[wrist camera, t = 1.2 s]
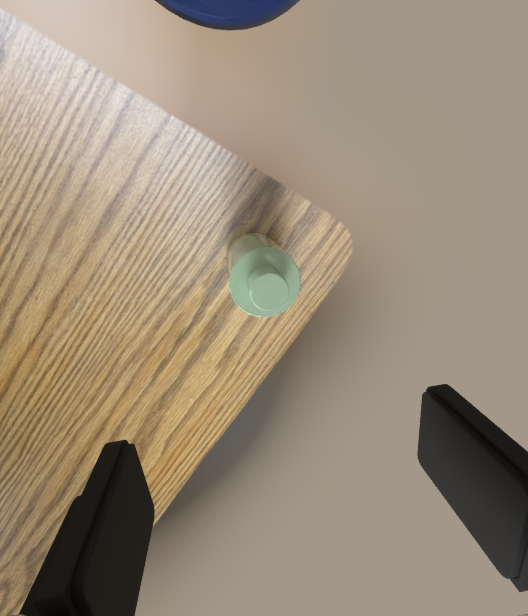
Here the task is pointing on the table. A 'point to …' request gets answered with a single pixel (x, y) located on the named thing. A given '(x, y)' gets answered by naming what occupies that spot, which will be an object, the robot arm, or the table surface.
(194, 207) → the table surface
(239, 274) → the bottle
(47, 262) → the table surface
